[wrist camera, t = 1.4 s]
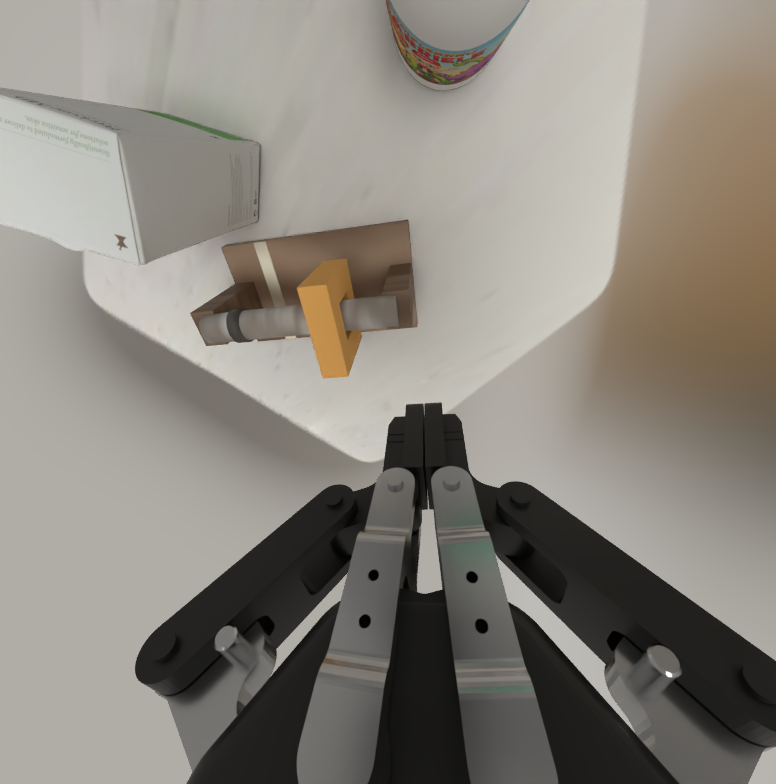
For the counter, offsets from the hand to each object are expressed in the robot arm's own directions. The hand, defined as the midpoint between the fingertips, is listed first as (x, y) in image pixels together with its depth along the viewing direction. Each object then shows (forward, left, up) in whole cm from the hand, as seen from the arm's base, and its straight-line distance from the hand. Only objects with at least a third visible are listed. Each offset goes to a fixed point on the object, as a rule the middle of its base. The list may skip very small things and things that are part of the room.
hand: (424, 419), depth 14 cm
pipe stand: (0, -10, -22) cm, 25 cm away
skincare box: (-11, -18, -23) cm, 31 cm away
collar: (0, -7, -17) cm, 18 cm away
